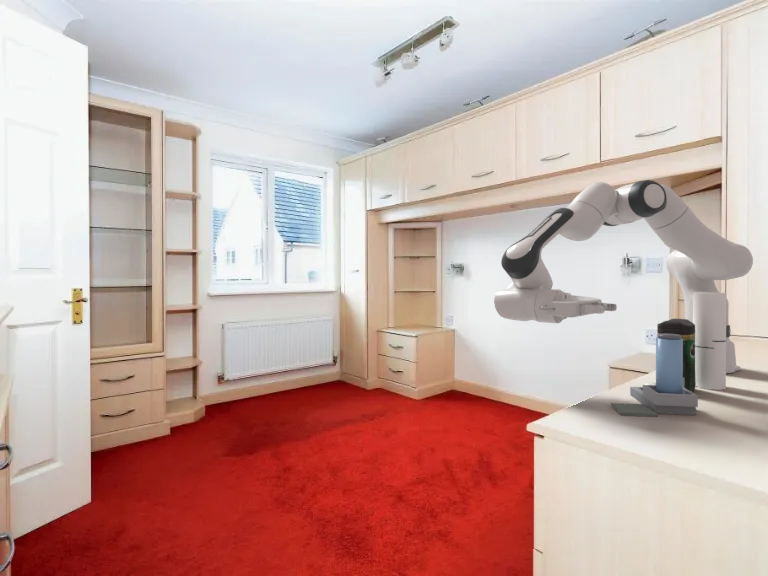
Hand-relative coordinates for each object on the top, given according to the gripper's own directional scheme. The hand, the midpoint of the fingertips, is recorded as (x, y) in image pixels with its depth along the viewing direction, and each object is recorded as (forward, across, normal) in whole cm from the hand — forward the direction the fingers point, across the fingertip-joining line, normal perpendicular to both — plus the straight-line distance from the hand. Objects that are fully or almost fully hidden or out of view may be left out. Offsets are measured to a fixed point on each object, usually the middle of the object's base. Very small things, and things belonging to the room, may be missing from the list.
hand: (609, 308), depth 105 cm
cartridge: (+12, 0, +20) cm, 24 cm away
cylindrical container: (+16, +30, +22) cm, 41 cm away
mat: (+6, -6, +22) cm, 24 cm away
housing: (+10, +4, +22) cm, 25 cm away
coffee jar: (+10, +21, +22) cm, 32 cm away
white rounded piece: (+7, +8, +22) cm, 24 cm away
